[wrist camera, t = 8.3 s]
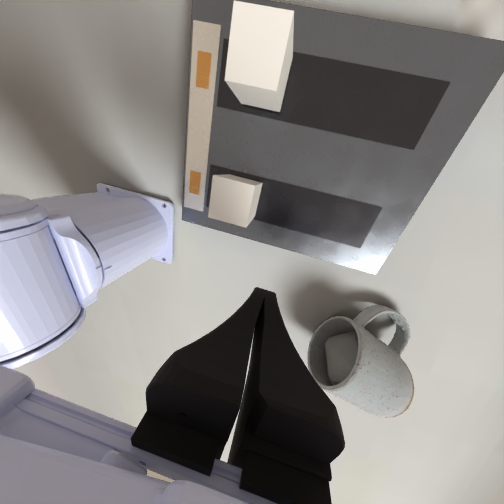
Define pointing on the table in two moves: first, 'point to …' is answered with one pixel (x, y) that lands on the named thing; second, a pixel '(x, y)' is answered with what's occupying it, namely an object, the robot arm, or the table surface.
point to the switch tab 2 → (234, 199)
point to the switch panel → (333, 128)
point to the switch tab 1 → (259, 54)
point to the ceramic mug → (363, 362)
